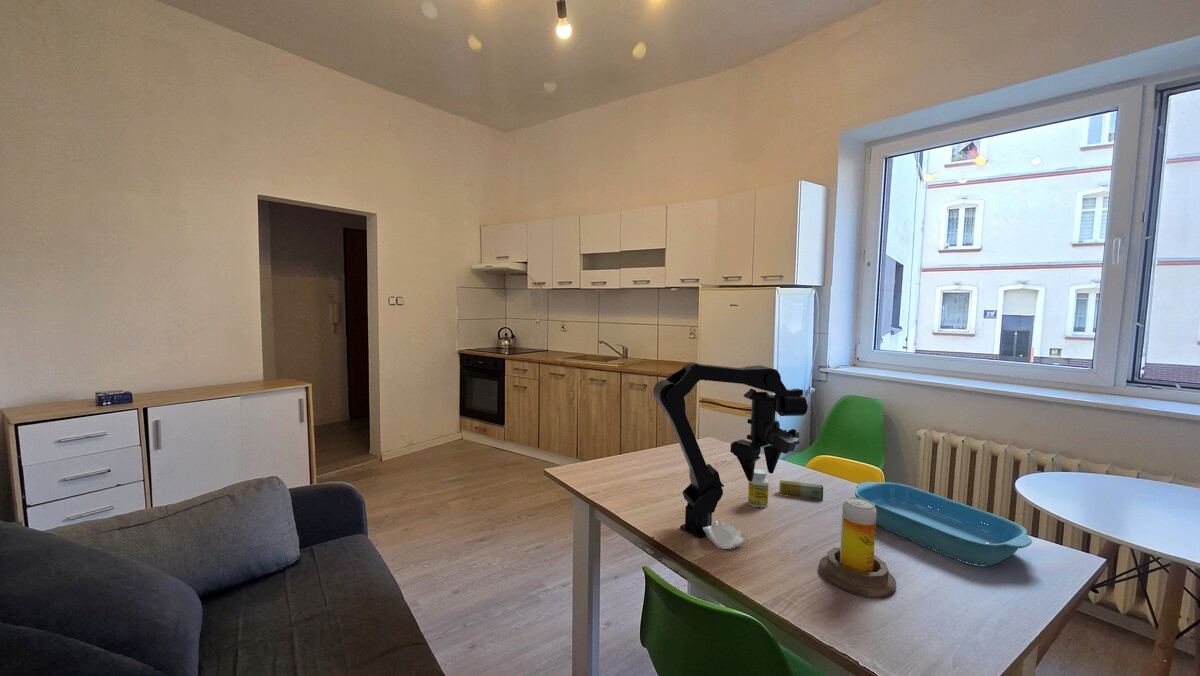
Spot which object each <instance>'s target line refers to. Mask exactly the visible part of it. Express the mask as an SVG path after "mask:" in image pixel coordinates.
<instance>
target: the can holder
mask: <svg viewBox="0 0 1200 676" xmlns="http://www.w3.org/2000/svg"><path fill="white" fill-rule="evenodd" d="M840 547H841V546H840ZM840 547H833V548H831V549H830V550H828V551H827V555H825V556H823V557H822V558H821V559H820V560H819V563H818V564H819V565H818V570H819V573H820V575H821V576H822V578H824V580H826V581H827V582H828V583H829V584H831V585H833V586H835V587H836V588H838V589H839V590H842V591H844V592H846V593H848V594H852V595H855V596H859V597H862V598H863V597H864V598H869V599H870V598H871V599H884V598H889V597H891V596H893V595H894V594H895V593H896V590H897V580H896V579H895V577H894V576H893V574H892V573H891V572H890V571H889V568H888V565H887V563H886V561H883V560H882V559H881V558H880V557H878V556H877V555H876V554H874V562H873V572H870V573H866V572H861V571H856V570H852V569H850V568H848V567H846V566H843V565H842V564H840Z"/></svg>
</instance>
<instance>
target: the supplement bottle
mask: <svg viewBox="0 0 1200 676" xmlns="http://www.w3.org/2000/svg"><path fill="white" fill-rule="evenodd" d="M769 482H770V481H769V480H768V478H767V471H766V470H764V469H759V468H754V475H753V480H752V481H748V494H747V502H748V504H749V505H750V506H751V505H752V506H751V507H753V508H754V507H755V508H758V507H760V509H762V508H763V507H764V508H766V507H767V506H768V505H769V486H770V485H769Z"/></svg>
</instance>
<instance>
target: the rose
mask: <svg viewBox="0 0 1200 676" xmlns="http://www.w3.org/2000/svg"><path fill="white" fill-rule="evenodd" d="M702 529H703V530H704V532H705V533H706V535H705V537H707V539H708V540H709V541H710V542H711V541H712V542H713V543H714V544H715V545H716V546H715V545H714V544H713V543H712V542H711V543H712V544H713V545H714V546H715V547H716V548H718V547H719V548H718V549H720V548H722V549H721V550H723V549H730V550H732V549H731V548H734V547H737V548H739V547H738V546H740V545H742V544H743V542H744V538H743V537H742V536H741V534H742V531H740V530H738V529H735V527H734V525H732V524H728V523H726V522H723V520H715V522H714V523H713V524H711V526H708V527H703V528H702ZM734 549H735V548H734Z"/></svg>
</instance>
